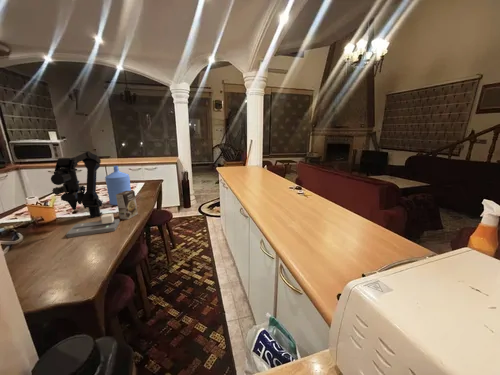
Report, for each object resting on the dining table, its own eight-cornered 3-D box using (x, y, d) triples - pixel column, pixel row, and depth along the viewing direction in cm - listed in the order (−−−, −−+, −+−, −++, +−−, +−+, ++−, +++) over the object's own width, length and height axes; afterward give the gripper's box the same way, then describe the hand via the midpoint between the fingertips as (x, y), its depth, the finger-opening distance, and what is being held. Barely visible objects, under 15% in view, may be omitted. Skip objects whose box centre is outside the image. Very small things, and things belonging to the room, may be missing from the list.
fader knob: (104, 222, 126) (103, 214, 125) (114, 221, 128) (113, 213, 127) (102, 225, 123) (101, 217, 121) (112, 224, 124) (111, 215, 123)
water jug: (126, 205, 160) (119, 168, 153) (105, 205, 161) (97, 168, 153) (137, 198, 175) (131, 164, 168) (117, 198, 176) (111, 164, 168)
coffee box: (128, 219, 136) (124, 194, 132) (119, 218, 138) (115, 194, 133) (138, 214, 145) (134, 190, 141) (129, 213, 146) (126, 190, 142)
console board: (76, 227, 126) (75, 223, 126) (119, 221, 133) (119, 218, 133) (67, 237, 114) (66, 233, 114) (114, 230, 121) (114, 227, 121)
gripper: (59, 177, 126) (66, 203, 130) (44, 186, 109) (52, 214, 113) (83, 176, 130) (88, 201, 134) (71, 183, 113) (78, 211, 117)
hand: (77, 206), depth 125 cm, fingers open, 9 cm apart
